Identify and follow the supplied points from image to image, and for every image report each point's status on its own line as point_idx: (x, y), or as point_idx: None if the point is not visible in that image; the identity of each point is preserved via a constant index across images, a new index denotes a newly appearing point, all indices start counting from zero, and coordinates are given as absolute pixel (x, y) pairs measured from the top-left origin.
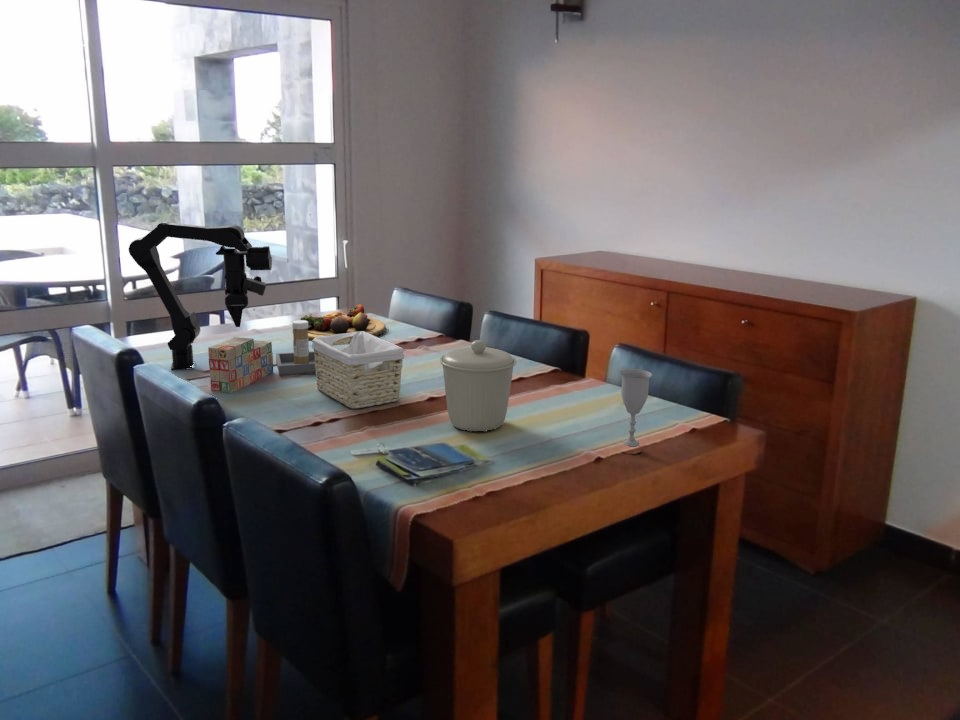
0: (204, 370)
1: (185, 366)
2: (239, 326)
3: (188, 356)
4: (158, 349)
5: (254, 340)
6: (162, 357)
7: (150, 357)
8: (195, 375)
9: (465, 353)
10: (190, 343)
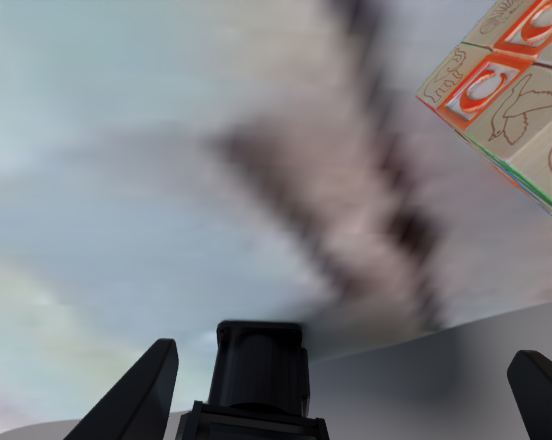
0: (328, 296)
1: (307, 356)
2: (538, 356)
3: (289, 378)
4: (18, 402)
5: (533, 152)
6: None
7: None
8: (387, 321)
9: None
10: (244, 415)
